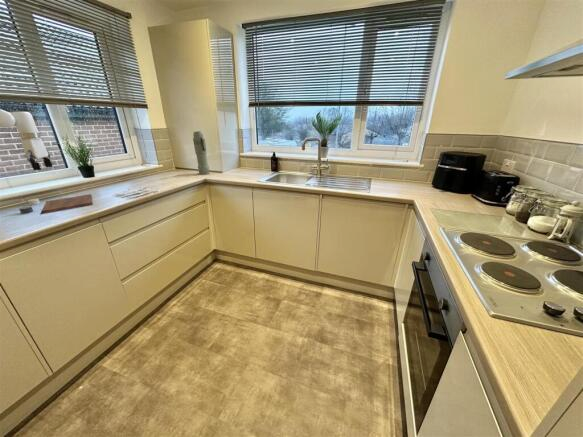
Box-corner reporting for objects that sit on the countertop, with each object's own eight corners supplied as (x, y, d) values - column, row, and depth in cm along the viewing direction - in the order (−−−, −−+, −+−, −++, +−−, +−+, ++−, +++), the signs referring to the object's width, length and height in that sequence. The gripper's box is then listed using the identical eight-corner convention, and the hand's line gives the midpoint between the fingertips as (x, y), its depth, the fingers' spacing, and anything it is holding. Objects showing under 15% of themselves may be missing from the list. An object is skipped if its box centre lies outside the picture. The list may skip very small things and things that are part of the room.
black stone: (21, 217, 119) (18, 209, 117) (23, 215, 122) (19, 207, 120) (34, 215, 121) (30, 207, 120) (35, 212, 124) (32, 205, 123)
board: (39, 214, 122) (37, 211, 122) (44, 204, 138) (43, 201, 138) (92, 204, 135) (91, 202, 134) (91, 196, 151) (91, 193, 150)
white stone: (30, 208, 132) (26, 201, 130) (31, 206, 135) (28, 199, 133) (41, 206, 134) (38, 199, 133) (42, 204, 137) (39, 198, 136)
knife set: (107, 194, 153) (107, 193, 153) (158, 182, 181) (158, 181, 181) (129, 200, 141) (129, 198, 141) (180, 186, 169) (180, 184, 169)
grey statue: (206, 175, 204) (199, 131, 190) (195, 174, 208) (188, 131, 194) (213, 173, 211) (207, 131, 198) (202, 172, 215) (195, 131, 202)
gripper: (33, 136, 136) (46, 166, 142) (8, 137, 120) (24, 171, 127) (49, 135, 137) (60, 165, 144) (27, 137, 122) (41, 170, 128)
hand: (43, 168), depth 135 cm, fingers open, 9 cm apart
